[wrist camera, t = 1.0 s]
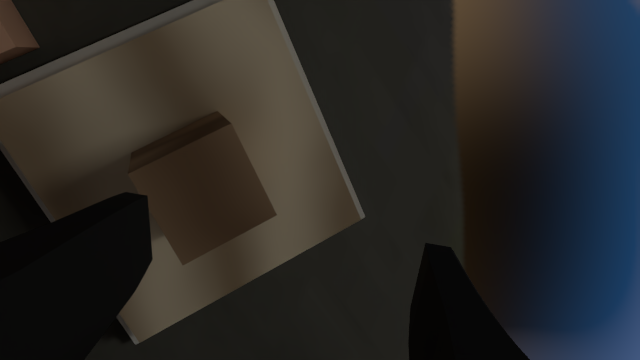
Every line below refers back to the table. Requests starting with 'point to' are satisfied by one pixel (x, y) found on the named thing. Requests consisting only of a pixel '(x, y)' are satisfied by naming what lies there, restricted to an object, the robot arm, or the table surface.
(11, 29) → the dish
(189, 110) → the lid
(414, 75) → the table surface
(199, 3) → the mat
